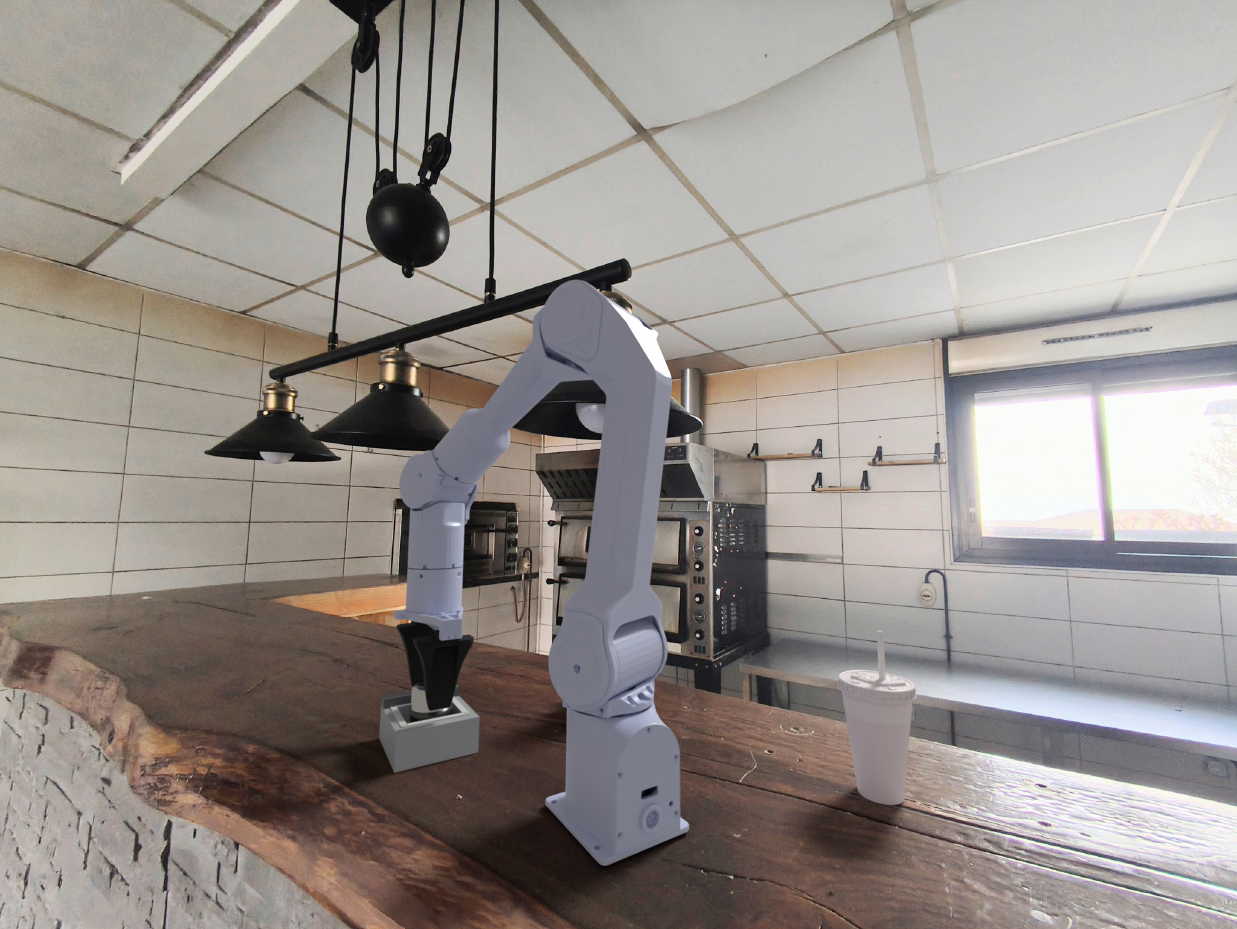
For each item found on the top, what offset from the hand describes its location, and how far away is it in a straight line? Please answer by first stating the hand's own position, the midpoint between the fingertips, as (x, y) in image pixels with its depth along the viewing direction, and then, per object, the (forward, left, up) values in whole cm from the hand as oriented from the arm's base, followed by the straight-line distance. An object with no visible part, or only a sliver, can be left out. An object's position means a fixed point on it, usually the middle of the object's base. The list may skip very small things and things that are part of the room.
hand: (430, 697), depth 54 cm
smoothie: (-31, -31, -5) cm, 44 cm away
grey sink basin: (0, 0, -5) cm, 5 cm away
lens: (0, 0, -5) cm, 5 cm away
